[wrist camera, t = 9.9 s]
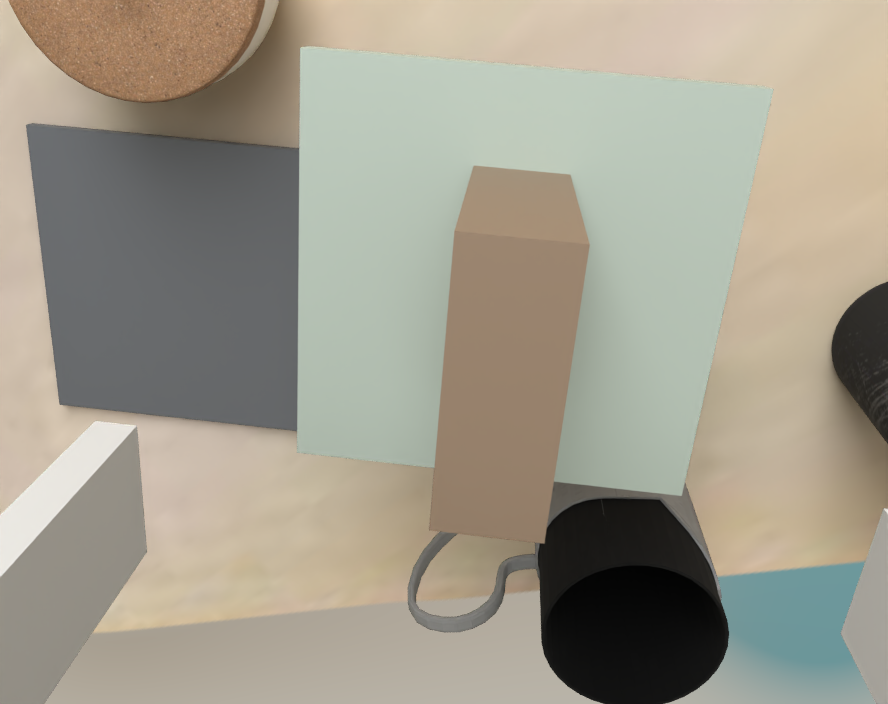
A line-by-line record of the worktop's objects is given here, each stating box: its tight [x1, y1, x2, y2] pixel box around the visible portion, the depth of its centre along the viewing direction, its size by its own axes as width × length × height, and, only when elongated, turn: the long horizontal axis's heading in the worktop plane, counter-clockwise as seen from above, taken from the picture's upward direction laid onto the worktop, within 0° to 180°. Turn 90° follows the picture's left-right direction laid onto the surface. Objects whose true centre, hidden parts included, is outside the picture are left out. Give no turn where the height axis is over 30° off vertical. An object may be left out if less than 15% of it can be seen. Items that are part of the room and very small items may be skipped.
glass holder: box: [408, 482, 729, 704], centre depth 41 cm, size 9×14×15 cm, turn 98°
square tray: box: [26, 123, 299, 431], centre depth 45 cm, size 16×16×1 cm
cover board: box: [297, 46, 773, 544], centre depth 24 cm, size 14×14×9 cm
